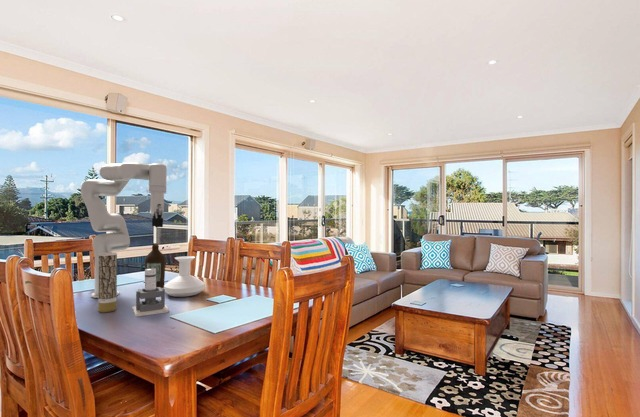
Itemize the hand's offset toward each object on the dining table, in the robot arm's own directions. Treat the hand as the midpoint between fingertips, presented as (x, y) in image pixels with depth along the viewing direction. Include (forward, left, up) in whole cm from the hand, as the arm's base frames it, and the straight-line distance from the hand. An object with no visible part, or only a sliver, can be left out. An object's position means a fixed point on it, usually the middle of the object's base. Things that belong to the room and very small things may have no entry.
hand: (157, 226), depth 168 cm
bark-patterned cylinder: (+2, -20, -36) cm, 42 cm away
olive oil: (-36, +4, -36) cm, 51 cm away
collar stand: (+11, -4, -36) cm, 38 cm away
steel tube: (+11, -4, -35) cm, 37 cm away
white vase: (-12, +15, -37) cm, 41 cm away
